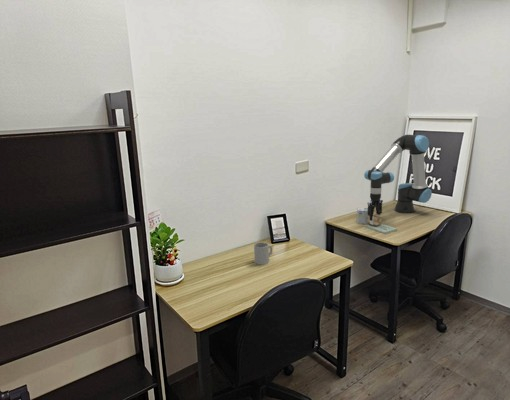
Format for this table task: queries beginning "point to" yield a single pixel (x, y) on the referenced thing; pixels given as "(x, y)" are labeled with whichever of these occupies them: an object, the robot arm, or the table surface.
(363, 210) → the light bulb box
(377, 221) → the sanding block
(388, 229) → the board
